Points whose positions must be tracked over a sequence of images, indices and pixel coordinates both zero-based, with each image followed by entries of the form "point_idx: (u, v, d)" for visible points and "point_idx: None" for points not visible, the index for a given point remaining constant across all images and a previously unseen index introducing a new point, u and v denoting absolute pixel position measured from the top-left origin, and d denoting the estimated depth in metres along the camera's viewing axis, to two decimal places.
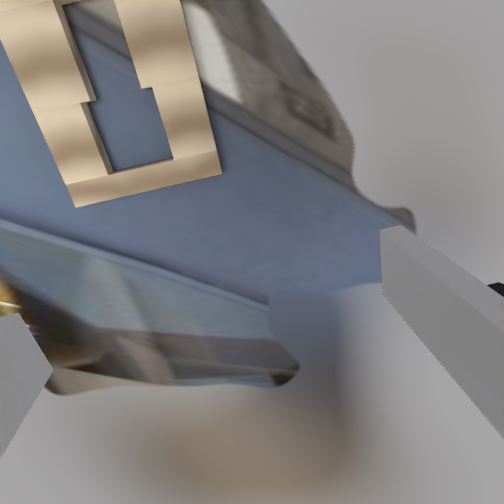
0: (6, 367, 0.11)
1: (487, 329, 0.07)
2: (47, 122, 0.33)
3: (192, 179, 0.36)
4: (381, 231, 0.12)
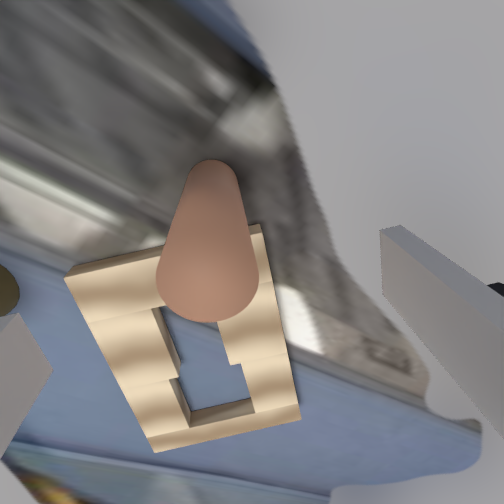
0: (6, 367, 0.11)
1: (487, 329, 0.07)
2: (134, 395, 0.33)
3: (271, 425, 0.36)
4: (381, 231, 0.12)
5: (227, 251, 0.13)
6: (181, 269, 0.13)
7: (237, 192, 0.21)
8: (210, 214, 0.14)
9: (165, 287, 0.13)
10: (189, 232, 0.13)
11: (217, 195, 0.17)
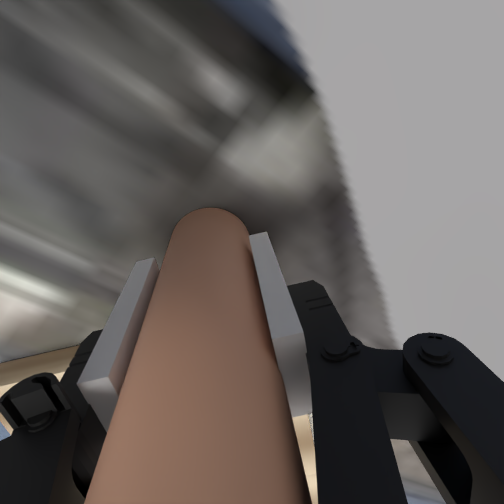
0: None
1: None
2: None
3: None
4: (249, 236, 0.14)
5: None
6: None
7: (257, 290, 0.11)
8: (200, 491, 0.05)
9: None
10: None
11: (220, 342, 0.07)
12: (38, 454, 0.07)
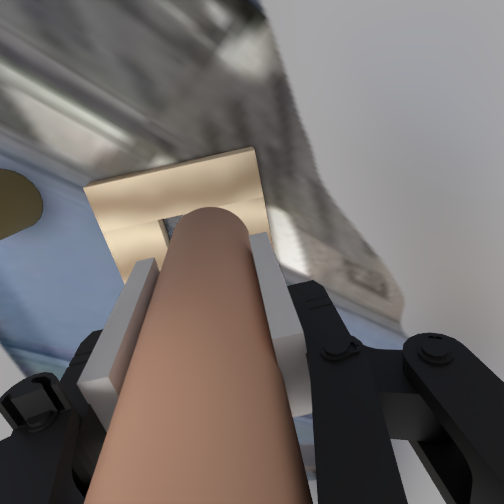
0: None
1: None
2: None
3: None
4: (249, 236, 0.14)
5: None
6: None
7: (257, 287, 0.11)
8: (201, 475, 0.05)
9: None
10: None
11: (221, 336, 0.08)
12: (38, 454, 0.07)
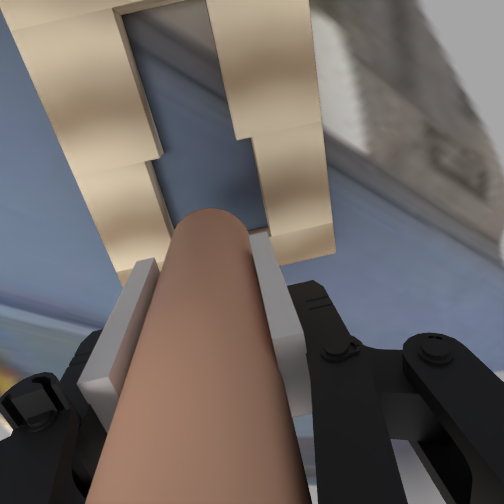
0: None
1: None
2: (94, 189, 0.22)
3: (294, 261, 0.26)
4: (249, 237, 0.14)
5: None
6: None
7: (257, 289, 0.11)
8: (200, 482, 0.05)
9: None
10: None
11: (221, 339, 0.08)
12: (38, 454, 0.07)
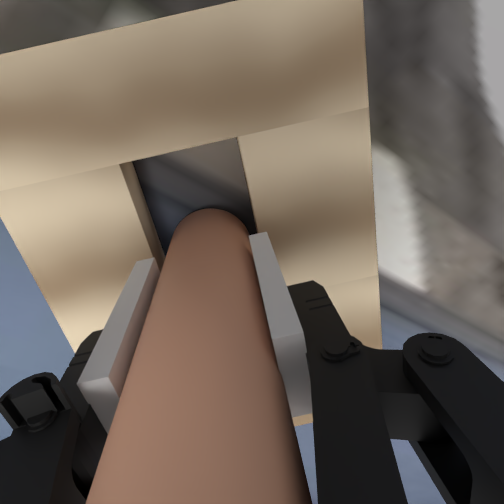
0: None
1: None
2: None
3: None
4: (249, 236, 0.14)
5: None
6: None
7: (257, 290, 0.11)
8: (201, 481, 0.05)
9: None
10: None
11: (221, 339, 0.08)
12: (38, 454, 0.07)
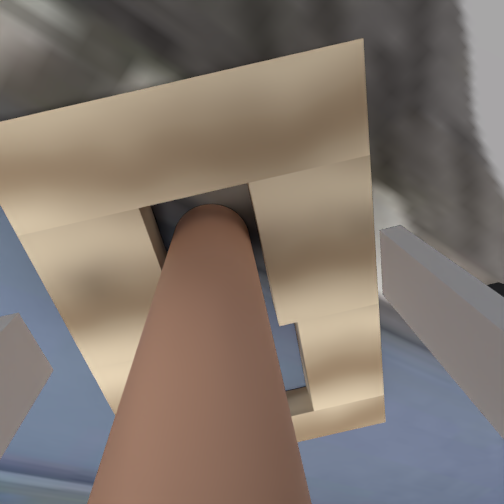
0: (6, 367, 0.11)
1: (487, 329, 0.07)
2: (112, 379, 0.19)
3: (337, 432, 0.22)
4: (381, 231, 0.12)
5: None
6: None
7: (254, 278, 0.12)
8: (204, 426, 0.06)
9: None
10: None
11: (221, 318, 0.09)
12: None
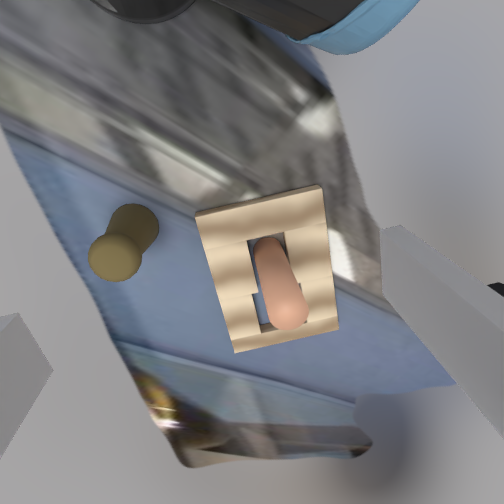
0: (6, 367, 0.11)
1: (487, 329, 0.07)
2: (227, 305, 0.48)
3: (318, 333, 0.51)
4: (381, 231, 0.12)
5: (297, 302, 0.33)
6: (278, 309, 0.33)
7: (288, 263, 0.41)
8: (287, 285, 0.34)
9: (271, 316, 0.33)
10: (282, 295, 0.33)
11: (284, 271, 0.37)
12: None
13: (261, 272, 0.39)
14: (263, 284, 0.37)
